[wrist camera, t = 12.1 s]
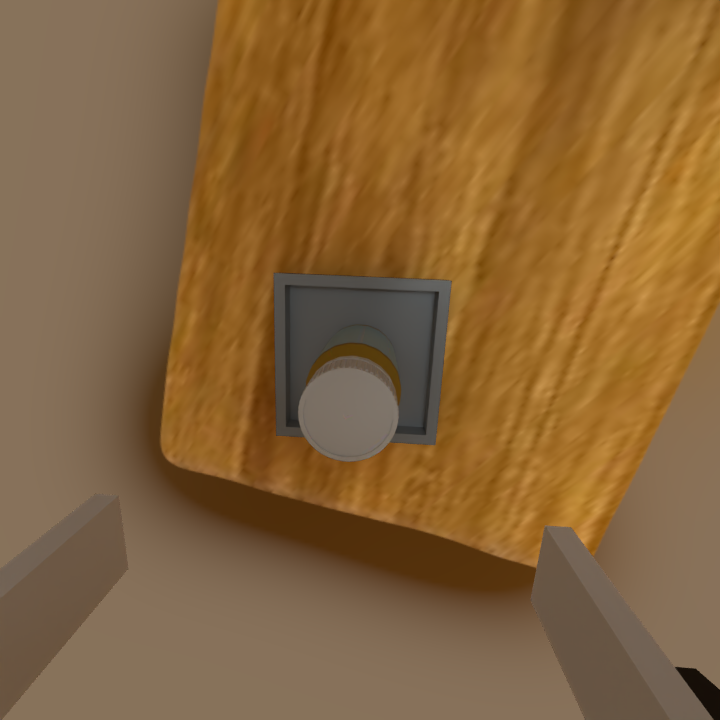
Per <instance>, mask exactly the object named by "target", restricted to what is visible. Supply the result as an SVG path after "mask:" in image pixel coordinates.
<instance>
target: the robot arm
mask: <svg viewBox="0 0 720 720" xmlns="http://www.w3.org/2000/svg"><path fill="white" fill-rule="evenodd" d="M127 570H128V562H127V555H126V547H125V539H124V532H123V525H122V517H121V510H120V502H119V496H117V495H104V494H94V495H93V496H92V497H90V498H89V499H88V500H87V501H85V502H84V503H83V504H82V505H80V506H79V507H78V508H76V509H75V510H74V511H73V512H72V513H70V514H69V515H68V516H66V517H65V518H64V519H63V520H61V521H60V522H59V523H58V524H56V525H55V526H54V527H52V528H51V529H50V530H49V531H47V532H46V533H45V534H44V535H42V536H41V537H40V538H39V539H37V540H36V541H35V542H34V543H32V544H31V545H30V546H28V547H27V548H26V549H25V550H23V551H22V552H21V553H20V554H18V555H17V556H16V557H14V558H13V559H12V560H11V561H9V562H8V563H7V564H6V565H4V566H3V567H2V568H1V569H0V720H2V719H3V718H4V717H5V715H6V714H7V713H8V712H9V711H10V709H11V708H12V707H13V706H14V705H15V703H16V702H17V701H18V700H19V699H20V697H21V696H22V695H23V694H24V693H25V691H26V690H27V689H28V688H29V687H30V685H31V684H32V683H33V682H34V681H35V680H36V678H37V677H38V676H39V675H40V673H41V672H42V671H43V670H44V669H45V668H46V666H47V665H48V664H49V663H50V662H51V660H52V659H53V658H54V657H55V656H56V654H57V653H58V652H59V651H60V650H61V648H62V647H63V646H64V645H65V644H66V642H67V641H68V640H69V639H70V638H71V637H72V635H73V634H74V633H75V632H76V631H77V629H78V628H79V627H80V626H81V625H82V623H83V622H84V621H85V620H86V619H87V617H88V616H89V614H91V613H92V611H93V610H94V609H95V608H96V607H97V606H98V604H99V603H100V602H101V601H102V599H103V598H104V597H105V596H106V595H107V594H108V592H109V591H110V590H111V589H112V587H113V586H114V585H115V584H116V583H117V582H118V580H119V579H120V578H121V577H122V576H123V574H124V573H125V572H126V571H127ZM531 602H532V604H533V607H534V609H535V611H536V613H537V615H538V617H539V620H540V622H541V624H542V626H543V628H544V631H545V633H546V635H547V637H548V640H549V642H550V643H551V646H552V648H553V650H554V653H555V655H556V657H557V659H558V661H559V664H560V666H561V668H562V670H563V672H564V675H565V677H566V679H567V681H568V683H569V685H570V688H571V690H572V692H573V694H574V696H575V698H576V701H577V703H578V705H579V707H580V710H581V712H582V714H583V716H584V718H585V720H720V690H719V689H718V688H717V687H716V686H715V685H714V684H713V683H711V682H710V681H709V680H708V679H707V678H706V677H704V676H703V675H702V674H701V673H700V672H699V671H697V669H693V668H681V667H674V666H673V664H672V663H671V662H670V660H669V659H668V658H667V656H666V655H665V654H664V652H663V651H662V650H661V648H660V647H659V645H658V644H657V643H656V641H655V640H654V639H653V637H652V636H651V635H650V633H649V632H648V631H647V629H646V628H645V627H644V625H643V624H642V623H641V621H640V620H639V619H638V617H637V616H636V614H635V613H634V612H633V610H632V609H631V608H630V606H629V605H628V604H627V602H626V601H625V600H624V598H623V597H622V596H621V594H620V593H619V592H618V590H617V589H616V587H615V586H614V585H613V583H612V582H611V581H610V579H609V578H608V577H607V575H606V574H605V573H604V571H603V570H602V569H601V567H600V566H599V564H598V563H597V562H596V560H595V559H594V558H593V556H592V555H591V554H590V552H589V551H588V550H587V548H586V547H585V546H584V544H583V543H582V542H581V540H580V539H579V538H578V536H577V535H576V533H575V532H574V531H573V529H572V528H571V527H557V526H545V528H544V533H543V538H542V544H541V549H540V554H539V559H538V564H537V570H536V575H535V580H534V585H533V590H532V596H531Z"/></svg>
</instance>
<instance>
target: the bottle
mask: <svg viewBox="0 0 720 720" xmlns="http://www.w3.org/2000/svg"><path fill="white" fill-rule="evenodd" d="M400 398H401V382H400V377H399V372H398V367H397V362H396V357H395V352H394V348H393V346H392V344H391V342H390V341H389V339H388V338H387V337H386V336H385V335H384V334H383V333H382V332H381V331H379V330H378V329H376V328H373V327H371V326H368V325H352V326H348V327H345V328H343V329H342V330H340V331H338V332H337V333H336V334H335V335H334V336H333V337H332V338H331V339H330V341H329V342H328V343H327V345H326V346H325V348H324V349H323V350H322V352H321V353H320V355H319V356H318V358H317V359H316V361H315V362H314V363H313V365H312V367H311V369H310V371H309V374H308V377H307V380H306V387H305V389H304V391H303V394H302V395H301V399H300V401H299V403H300V404H299V406H298V408H299V410H298V418H299V424H300V427H301V430H302V432H303V434H304V436H305V438H306V439H307V441H308V442H309V443H310V444H311V445H312V446H313V447H314V448H315V449H316V450H317V451H318V452H320V453H321V454H323V455H325V456H327V457H329V458H332V459H335V460H339V461H347V462H352V461H360V460H364V459H367V458H370V457H372V456H374V455H376V454H377V453H379V452H380V451H381V450H383V449H384V448H385V447H386V446H387V445H388V443H389V442H390V441H391V439H392V438H393V435H394V434H395V431H396V429H397V424H398V419H399V409H398V406H399V403H400Z"/></svg>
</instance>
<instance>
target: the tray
mask: <svg viewBox="0 0 720 720" xmlns="http://www.w3.org/2000/svg"><path fill="white" fill-rule="evenodd" d="M451 282H452V281H450V280H435V279H412V278H388V277H365V276H342V275H319V274H296V273H274V321H275V389H276V436H293V437H305V436H304V434H303V432H302V430H301V427H300V424H299V418H298V410H299V408H298V406H299V404H300V403H299V401H300V399H301V395H302V394H303V391H304V389H305V387H306V380H307V377H308V374H309V371H310V369H311V367H312V365H313V363H314V362H315V361H316V359H317V358H318V356H319V355H320V353H321V352H322V350H323V349H324V348H325V346H326V345H327V343H328V342H329V341H330V339H331V338H332V337H333V336H334V335H335V334H336V333H337V332H338V331H340V330H342V329H343V328H345V327H348V326H352V325H368V326H371V327H373V328H376V329H378V330H379V331H381V332H382V333H383V334H384V335H385V336H386V337H387V338H388V339H389V341H390V342H391V344H392V346H393V348H394V352H395V357H396V362H397V367H398V372H399V377H400V382H401V398H400V403H399V406H398V409H399V419H398V424H397V429H396V431H395V434H394V435H393V438H392V439H391V441H390V442H392V443H408V444H425V445H435V443H436V433H437V423H438V413H439V403H440V393H441V383H442V373H443V363H444V353H445V342H446V332H447V322H448V312H449V302H450V292H451Z"/></svg>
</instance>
